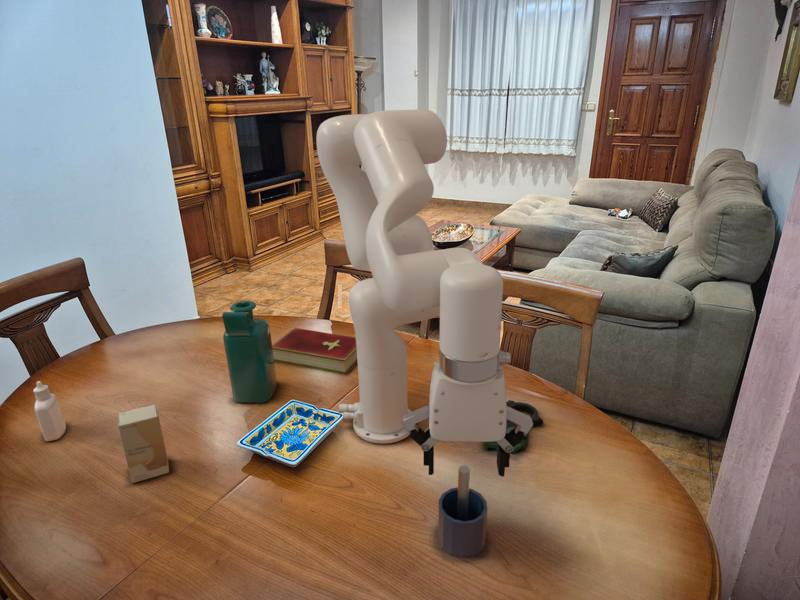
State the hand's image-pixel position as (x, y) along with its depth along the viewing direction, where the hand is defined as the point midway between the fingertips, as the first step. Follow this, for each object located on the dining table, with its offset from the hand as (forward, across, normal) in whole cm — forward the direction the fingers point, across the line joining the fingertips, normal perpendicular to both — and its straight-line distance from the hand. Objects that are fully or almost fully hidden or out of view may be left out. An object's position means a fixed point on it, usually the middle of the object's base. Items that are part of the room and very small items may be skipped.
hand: (465, 468), depth 71 cm
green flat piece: (+14, -12, -28) cm, 33 cm away
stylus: (+13, 0, 0) cm, 13 cm away
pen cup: (+14, 0, 0) cm, 14 cm away
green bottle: (+13, +44, -38) cm, 60 cm away
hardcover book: (+13, +33, -56) cm, 67 cm away
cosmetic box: (+13, +55, -14) cm, 58 cm away
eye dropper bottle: (+13, +80, -24) cm, 85 cm away
